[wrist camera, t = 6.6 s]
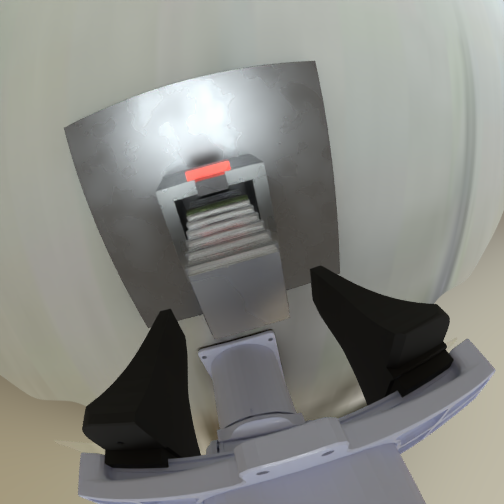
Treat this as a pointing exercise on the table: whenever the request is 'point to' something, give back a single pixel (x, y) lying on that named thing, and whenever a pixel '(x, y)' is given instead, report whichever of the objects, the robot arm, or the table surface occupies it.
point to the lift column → (234, 265)
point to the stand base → (209, 174)
